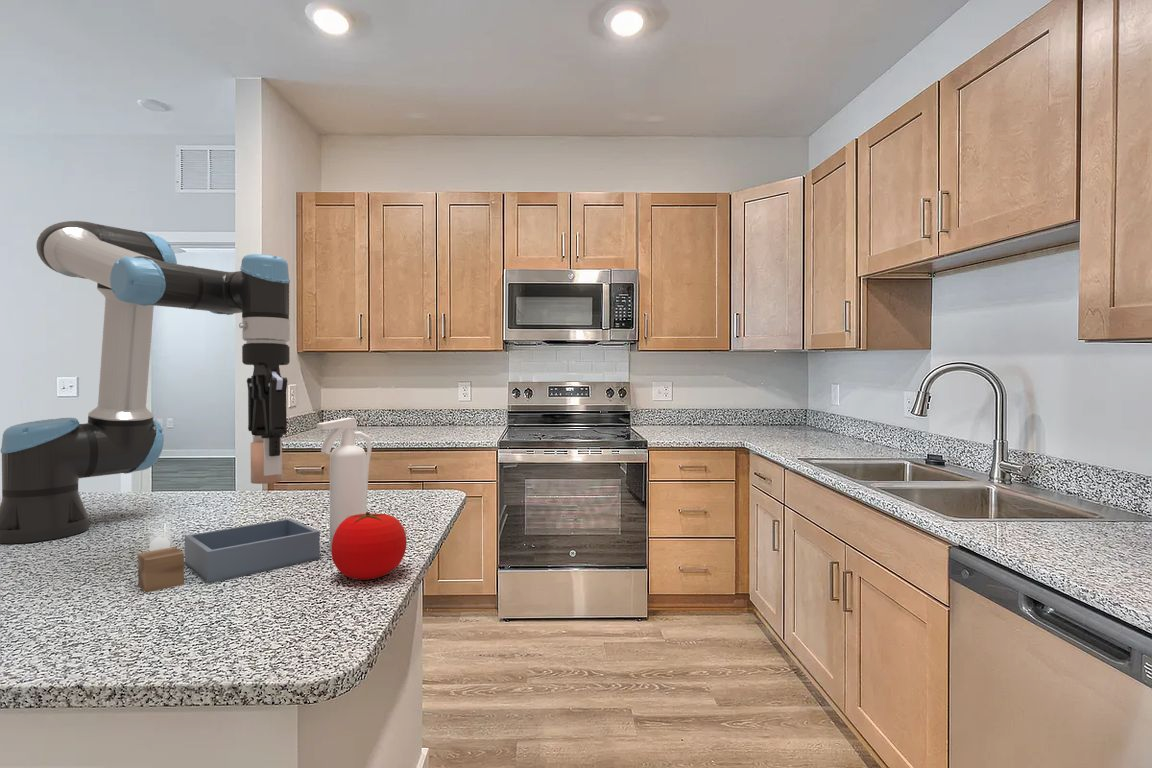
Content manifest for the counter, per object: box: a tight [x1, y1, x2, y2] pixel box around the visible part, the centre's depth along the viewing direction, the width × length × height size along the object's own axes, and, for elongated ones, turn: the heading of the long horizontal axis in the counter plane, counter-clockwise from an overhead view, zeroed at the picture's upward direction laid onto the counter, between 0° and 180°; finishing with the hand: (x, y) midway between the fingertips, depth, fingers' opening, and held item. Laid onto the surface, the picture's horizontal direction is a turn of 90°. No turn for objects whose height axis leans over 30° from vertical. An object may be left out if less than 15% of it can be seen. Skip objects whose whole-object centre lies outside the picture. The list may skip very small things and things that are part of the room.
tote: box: [184, 518, 321, 584], centre depth 105 cm, size 14×18×5 cm
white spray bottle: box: [316, 417, 373, 552], centre depth 113 cm, size 7×12×25 cm, turn 142°
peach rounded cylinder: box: [250, 440, 283, 485], centre depth 106 cm, size 5×5×7 cm
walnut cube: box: [137, 546, 185, 593], centre depth 93 cm, size 5×5×5 cm
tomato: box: [330, 511, 407, 581], centre depth 98 cm, size 12×12×10 cm
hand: (267, 472), depth 106 cm, fingers closed on peach rounded cylinder, 5 cm apart
